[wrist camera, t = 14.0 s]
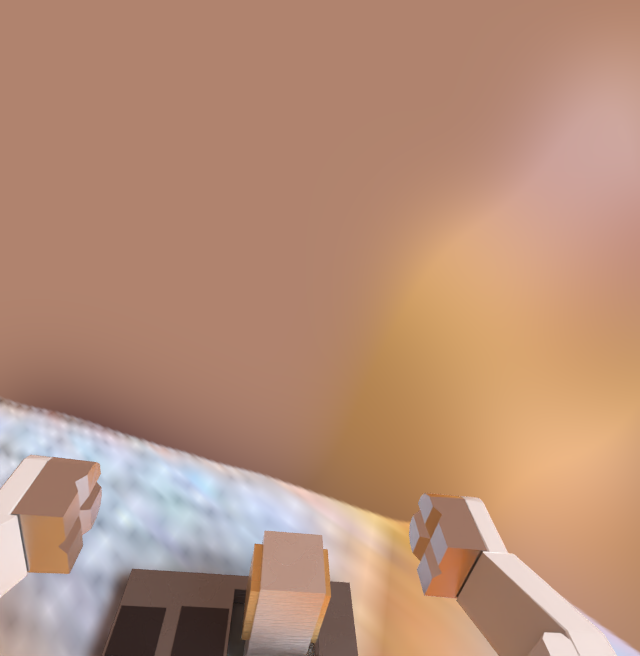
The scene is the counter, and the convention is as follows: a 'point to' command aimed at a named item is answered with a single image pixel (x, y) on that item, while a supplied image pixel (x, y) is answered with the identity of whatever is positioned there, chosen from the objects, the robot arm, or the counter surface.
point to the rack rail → (205, 616)
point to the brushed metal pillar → (285, 594)
